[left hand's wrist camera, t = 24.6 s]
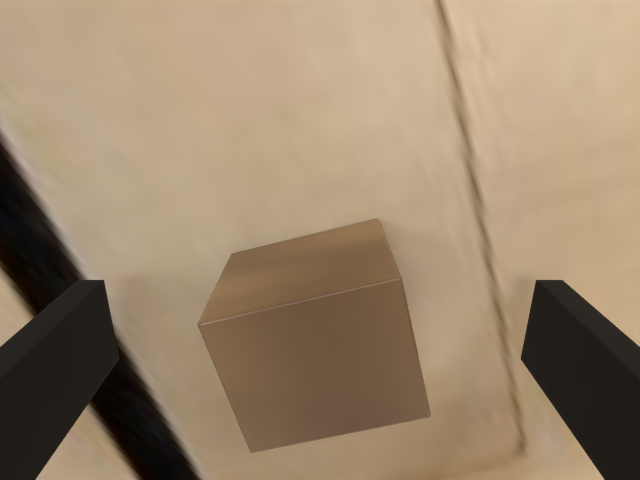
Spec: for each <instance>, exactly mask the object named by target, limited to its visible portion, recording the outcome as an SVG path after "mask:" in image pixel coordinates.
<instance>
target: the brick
mask: <svg viewBox="0 0 640 480" xmlns="http://www.w3.org/2000/svg"><path fill="white" fill-rule="evenodd" d="M198 327H199V330H200V332H201V334H202V337H203V339H204V342H205V344H206V346H207V349H208V351H209V354H210V356H211V358H212V361H213V363H214V366H215V368H216V370H217V373H218V375H219V378H220V380H221V383H222V385H223V387H224V390H225V392H226V395H227V397H228V399H229V402H230V404H231V407H232V409H233V411H234V414H235V416H236V419H237V421H238V423H239V426H240V428H241V431H242V433H243V436H244V438H245V440H246V443H247V445H248V448H249V450H250V452H252V453H253V452H258V451H263V450H268V449H273V448H278V447H283V446H288V445H293V444H298V443H303V442H308V441H313V440H318V439H323V438H328V437H333V436H338V435H343V434H348V433H353V432H358V431H363V430H368V429H373V428H378V427H383V426H388V425H393V424H398V423H403V422H408V421H413V420H418V419H423V418H428V417H430V415H431V413H430V409H429V404H428V399H427V395H426V390H425V385H424V381H423V376H422V371H421V366H420V362H419V357H418V352H417V348H416V343H415V338H414V334H413V329H412V324H411V319H410V315H409V310H408V305H407V301H406V296H405V291H404V286H403V282H402V278H401V275H400V273H399V270H398V268H397V265H396V263H395V260H394V257H393V255H392V252H391V250H390V247H389V245H388V242H387V240H386V237H385V235H384V232H383V230H382V227H381V225H380V222H379V220H378V219H374V220H370V221H365V222H361V223H357V224H353V225H349V226H345V227H341V228H337V229H333V230H328V231H324V232H320V233H316V234H312V235H308V236H304V237H300V238H296V239H291V240H287V241H283V242H279V243H275V244H271V245H267V246H263V247H259V248H254V249H250V250H246V251H242V252H238V253H234V254H231V256H230V258H229V260H228V262H227V264H226V266H225V268H224V270H223V272H222V274H221V277H220V279H219V281H218V283H217V285H216V287H215V289H214V291H213V293H212V295H211V297H210V299H209V302H208V304H207V306H206V308H205V310H204V312H203V314H202V316H201V318H200V320H199V322H198Z"/></svg>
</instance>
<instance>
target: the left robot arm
mask: <svg viewBox="0 0 640 480" xmlns="http://www.w3.org/2000/svg"><path fill="white" fill-rule="evenodd" d="M118 360H119V355H118V350H117V345H116V340H115V335H114V330H113V324H112V319H111V314H110V309H109V304H108V299H107V294H106V289H105V284H104V280H77V281H76V282H75V283H74V284H73V285H71V286H70V287H69V288H68V289H67V290H66V291H64V292H63V293H62V294H61V295H60V296H59V297H58V298H56V299H55V300H54V301H53V302H52V303H51V304H49V305H48V306H47V307H46V308H45V309H44V310H43V311H41V312H40V313H39V314H38V315H37V316H36V317H34V318H33V319H32V320H31V321H30V322H29V323H28V324H26V325H25V326H24V327H23V328H22V329H21V330H19V331H18V332H17V333H16V334H15V335H14V336H13V337H11V338H10V339H9V340H8V341H7V342H6V343H4V344H3V345H2V346H1V347H0V480H35V479H36V478H37V476H38V475H39V474H40V472H41V471H42V469H43V468H44V466H45V465H46V464H47V462H48V461H49V459H50V458H51V456H52V455H53V453H54V452H55V451H56V449H57V448H58V446H59V445H60V443H61V442H62V441H63V439H64V438H65V436H66V435H67V433H68V432H69V430H70V429H71V428H72V426H73V425H74V423H75V422H76V420H77V419H78V418H79V416H80V415H81V413H82V412H83V410H84V409H85V407H86V406H87V405H88V403H89V402H90V400H91V399H92V397H93V396H94V395H95V393H96V392H97V390H98V389H99V387H100V386H101V384H102V383H103V382H104V380H105V379H106V377H107V376H108V374H109V373H110V371H111V370H112V369H113V367H114V366H115V364H116V363H117V361H118ZM521 360H522V361H523V363H524V364H525V366H526V367H527V369H528V370H529V372H530V373H531V374H532V376H533V377H534V379H535V380H536V382H537V383H538V384H539V386H540V387H541V389H542V390H543V392H544V393H545V395H546V396H547V397H548V399H549V400H550V402H551V403H552V405H553V406H554V407H555V409H556V410H557V412H558V413H559V415H560V416H561V418H562V419H563V420H564V422H565V423H566V425H567V426H568V428H569V429H570V430H571V432H572V433H573V435H574V436H575V438H576V439H577V441H578V442H579V443H580V445H581V446H582V448H583V449H584V451H585V452H586V453H587V455H588V456H589V458H590V459H591V461H592V462H593V464H594V465H595V466H596V468H597V469H598V471H599V472H600V474H601V475H602V476H603V478H604V479H605V480H640V347H639V346H638V345H637V344H636V343H634V342H633V341H632V340H631V339H630V338H629V337H627V336H626V335H625V334H624V333H623V332H622V331H621V330H619V329H618V328H617V327H616V326H615V325H614V324H612V323H611V322H610V321H609V320H608V319H607V318H606V317H604V316H603V315H602V314H601V313H600V312H599V311H597V310H596V309H595V308H594V307H593V306H592V305H591V304H589V303H588V302H587V301H586V300H585V299H584V298H582V297H581V296H580V295H579V294H578V293H577V292H576V291H574V290H573V289H572V288H571V287H570V286H569V285H567V284H566V283H565V282H564V281H563V280H536V284H535V289H534V294H533V299H532V304H531V309H530V314H529V319H528V324H527V329H526V335H525V340H524V345H523V350H522V355H521Z"/></svg>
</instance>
